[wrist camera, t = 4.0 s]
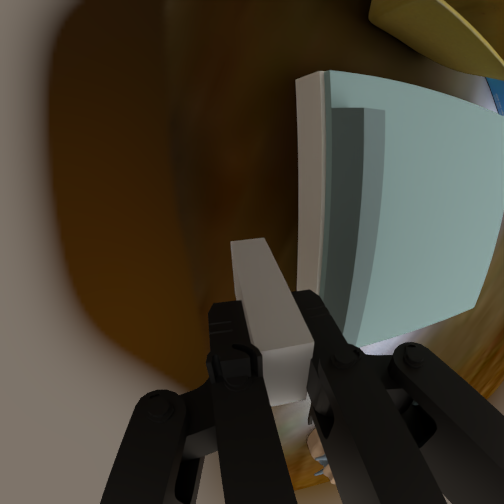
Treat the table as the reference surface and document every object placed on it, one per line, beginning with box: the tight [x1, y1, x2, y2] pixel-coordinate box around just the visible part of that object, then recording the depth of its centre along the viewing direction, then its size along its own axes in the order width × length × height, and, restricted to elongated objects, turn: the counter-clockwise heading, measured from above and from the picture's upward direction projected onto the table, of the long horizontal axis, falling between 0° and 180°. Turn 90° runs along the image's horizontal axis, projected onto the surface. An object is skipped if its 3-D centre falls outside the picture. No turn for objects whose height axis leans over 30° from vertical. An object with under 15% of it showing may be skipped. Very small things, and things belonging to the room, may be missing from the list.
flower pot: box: [368, 0, 504, 81], centre depth 9 cm, size 9×9×9 cm
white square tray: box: [295, 71, 326, 295], centre depth 18 cm, size 18×18×4 cm
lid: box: [319, 70, 504, 348], centre depth 15 cm, size 18×17×4 cm
